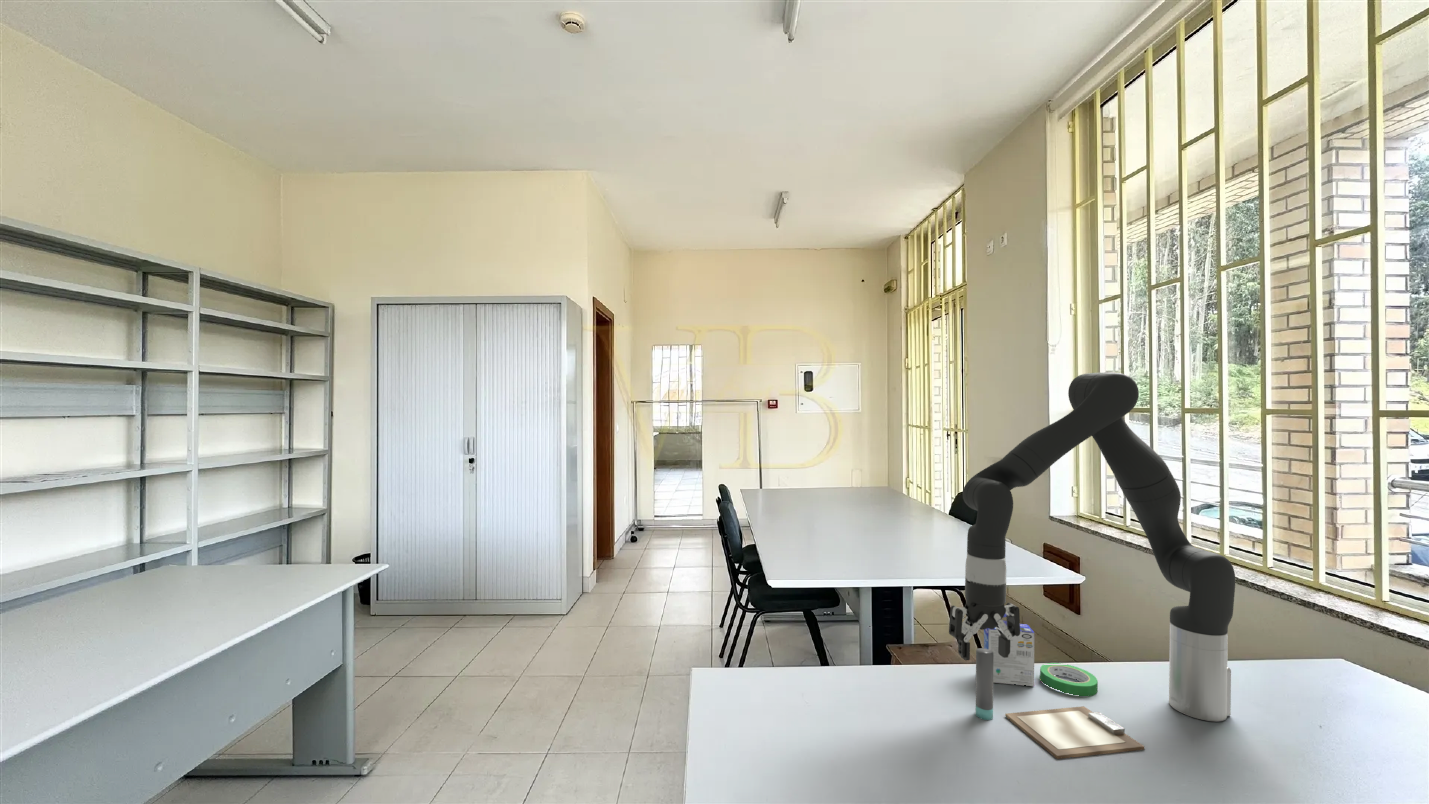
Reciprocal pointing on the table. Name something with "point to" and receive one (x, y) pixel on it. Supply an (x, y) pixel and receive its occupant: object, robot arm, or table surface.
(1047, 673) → the tape roll
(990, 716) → the marker
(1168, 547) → the robot arm
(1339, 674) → the table surface
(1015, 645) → the ink cartridge box
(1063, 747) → the clipboard
